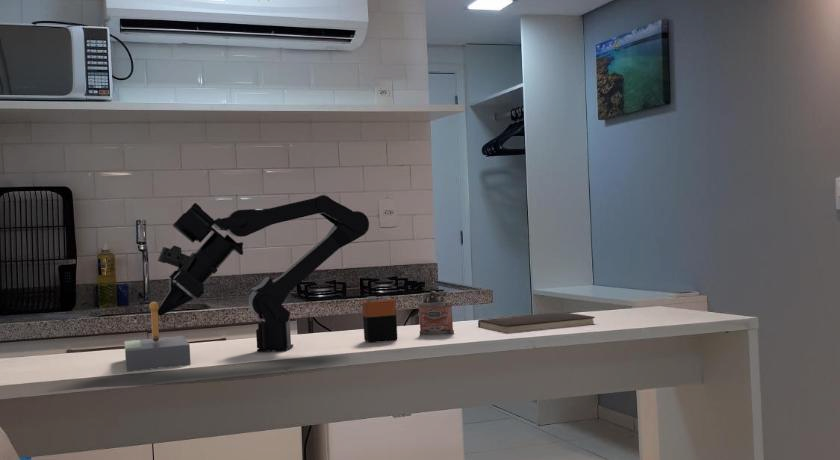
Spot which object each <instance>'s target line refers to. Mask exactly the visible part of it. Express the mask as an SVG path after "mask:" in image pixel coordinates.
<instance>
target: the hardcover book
mask: <svg viewBox="0 0 840 460" xmlns="http://www.w3.org/2000/svg"><path fill="white" fill-rule="evenodd" d="M595 318H596V317H595V316H592V315H586V314H578V313H573V312H571V313H570V312H566V311H557V312H547V313H546V312H545V313H538V314H535V313H534V314H527V315H526V314H525V315H514V316H505V317H496V318H485V319H483V318H482V319H479V320H478V321H477V325H478V326H477V327H478V328H482V329H483V328H484V329H488V330H492V331H497V332H502V333H507V334H509V333H520V332H521V333H522V332H530V331H537V330H538V331H539V330H547V329H548V330H549V329H556V328H558V329H559V328H567V327H568V328H569V327H576V326H585V325H586V326H587V325H594V322H595V321H594V319H595Z"/></svg>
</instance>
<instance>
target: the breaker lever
mask: <svg viewBox="0 0 840 460" xmlns="http://www.w3.org/2000/svg"><path fill="white" fill-rule="evenodd" d="M148 307H149V309H150V316H151V317H150V318H151V339H153V341H155V342H157V341H158V340H159V338H160V334H159V333H160V332H159V331H160V329H159V315H158V309H159V307H160V305H159V303H158V302H157V301H151V302H150V303H149V305H148Z"/></svg>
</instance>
